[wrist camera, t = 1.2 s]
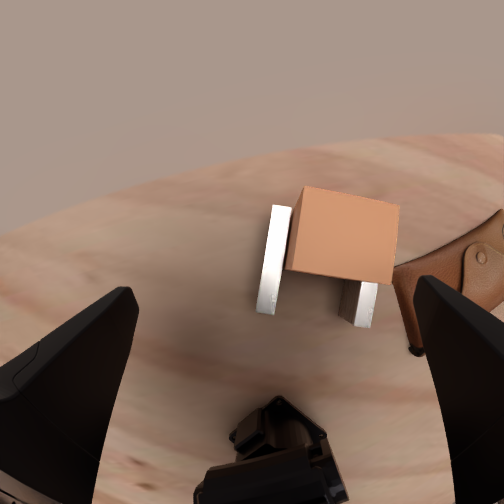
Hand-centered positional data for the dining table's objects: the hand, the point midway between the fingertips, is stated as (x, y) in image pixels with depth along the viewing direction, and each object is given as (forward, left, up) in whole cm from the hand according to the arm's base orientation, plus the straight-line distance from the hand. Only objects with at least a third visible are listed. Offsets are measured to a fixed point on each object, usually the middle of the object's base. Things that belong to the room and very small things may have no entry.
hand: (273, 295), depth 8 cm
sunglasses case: (-14, -14, -16) cm, 25 cm away
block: (-1, -4, -15) cm, 16 cm away
